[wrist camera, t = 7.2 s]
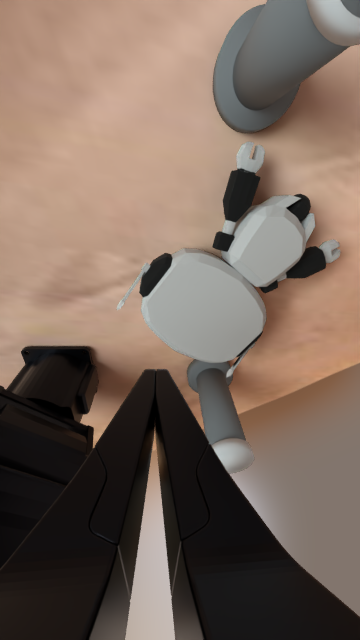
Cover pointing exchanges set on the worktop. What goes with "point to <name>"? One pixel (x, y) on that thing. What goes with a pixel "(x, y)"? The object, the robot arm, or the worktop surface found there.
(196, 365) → the tube
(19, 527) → the robot arm
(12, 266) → the worktop surface
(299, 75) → the tube
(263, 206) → the robot toy
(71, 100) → the worktop surface
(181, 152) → the worktop surface
